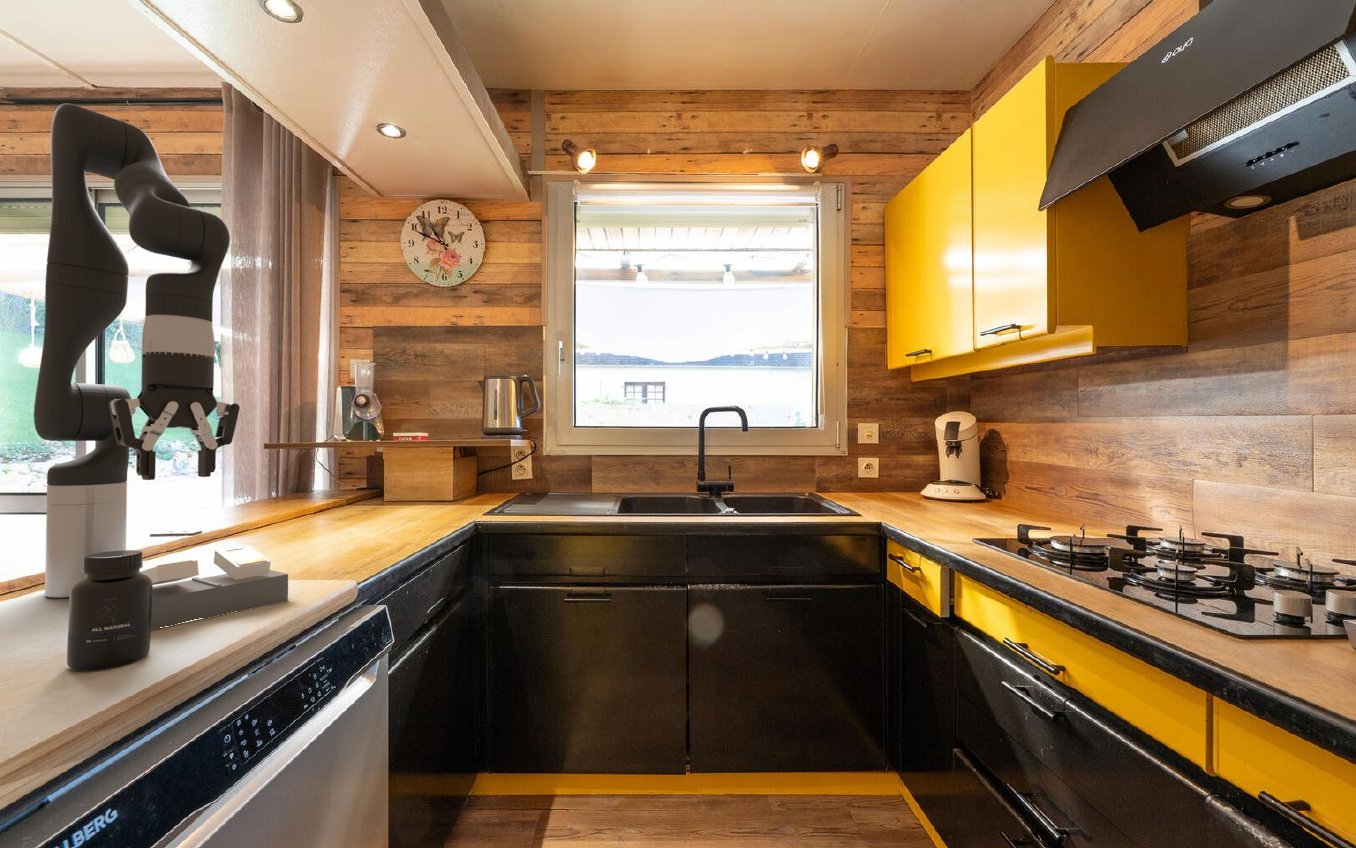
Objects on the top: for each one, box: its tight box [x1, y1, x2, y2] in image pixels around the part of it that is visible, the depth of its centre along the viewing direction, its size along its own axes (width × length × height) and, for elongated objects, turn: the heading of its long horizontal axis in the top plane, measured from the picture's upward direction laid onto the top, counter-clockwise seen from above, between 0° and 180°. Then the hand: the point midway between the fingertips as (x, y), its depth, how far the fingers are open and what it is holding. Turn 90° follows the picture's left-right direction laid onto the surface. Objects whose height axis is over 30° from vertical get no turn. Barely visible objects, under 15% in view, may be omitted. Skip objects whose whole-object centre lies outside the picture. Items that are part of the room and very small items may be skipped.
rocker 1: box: [139, 559, 200, 586], centre depth 82 cm, size 7×4×2 cm, turn 59°
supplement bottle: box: [66, 549, 154, 672], centre depth 68 cm, size 7×7×12 cm
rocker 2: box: [213, 544, 271, 580], centre depth 90 cm, size 7×4×2 cm, turn 59°
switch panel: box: [151, 569, 289, 631], centre depth 86 cm, size 8×18×4 cm, turn 149°
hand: (177, 477), depth 81 cm, fingers open, 5 cm apart
